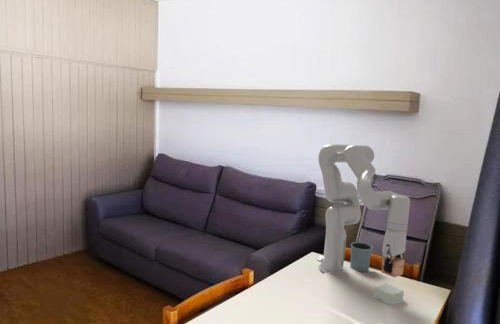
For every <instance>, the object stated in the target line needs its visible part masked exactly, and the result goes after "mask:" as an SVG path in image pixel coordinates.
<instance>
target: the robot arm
mask: <svg viewBox="0 0 500 324" xmlns="http://www.w3.org/2000/svg"><path fill="white" fill-rule="evenodd" d="M317 158H318V165H319V168H320V171H321V175H322V181H323V186H324V187H323V188H324V193H325V198H326V200H327V201H328V202H330V203H343V204H335V205H331V206H329V207H328V208H327V209H326V211H325V214H324V215H325V236H324V237H325V239H324V248H323V249H324V250H323V256H321V255H320V256H318V258H317V259H316V260H317V262H319V263H320V264H319V267H318V268H319V271H320V272H322V273H324V274H327V273H331V274H343V273H345V272H347V269H346V267H345V266H344V265H345V264H344V263H345V254H346V253H345V252H346V245H347V243H346V242H347V231H346V230H345V227H344V226H348V225H350V226H351V225H355V224H356V225H357V224H358V223H359V222H360V221H361V218H362V211H361V205H360V200H361V201H362V203H363V204H364V205H365V206H366V207H367V209H369V210H370V211H383V210H384V211H387V210H388V212H387V213H388V214H387V222H386V223H387V224H386V230H385V233H384V238H383V242H382V248H381V249H382V250H381V253H382V259H383V258H384V262H385V263H384V271H385V272H388V273H392V266H393V263H392V260H393V257H394V256H395V257H398V258H401V259H404V258H403V256H404V255H405V254H404V253H405V252H406V245H407V231H408V224H409V216H410V206H411V198H410V197H409V196H407V195H403V194H398V193H396V192H394V191H390V190H379V191H378V190H377V191H375V190H374V188H373V187H372V186H371V184H370V182H369V180H371V178H373V177H374V176H375V174H376V168H375V167H374V165H373V164H372V162H373V161H374V159H375V152H374V149H372V148H371V147H370V146H368V145H366V144H365V145H358V144H339V143H337V144H336V143H333V144H326V145H324V146H323V147H322V148H320V151H319V154H318V157H317ZM335 163H346V164H347V165H348V167H349V168H350V170H351V171H352V172H353V174H354V176H355V177H356V178H357V181H356V185H355V184H354V183H352V182H350V181H343V180H342V176H341V175H342V174H341V171H340V169H339V168H338V166H337V165H336V164H335ZM388 256H390V259H389V257H388Z"/></svg>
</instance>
